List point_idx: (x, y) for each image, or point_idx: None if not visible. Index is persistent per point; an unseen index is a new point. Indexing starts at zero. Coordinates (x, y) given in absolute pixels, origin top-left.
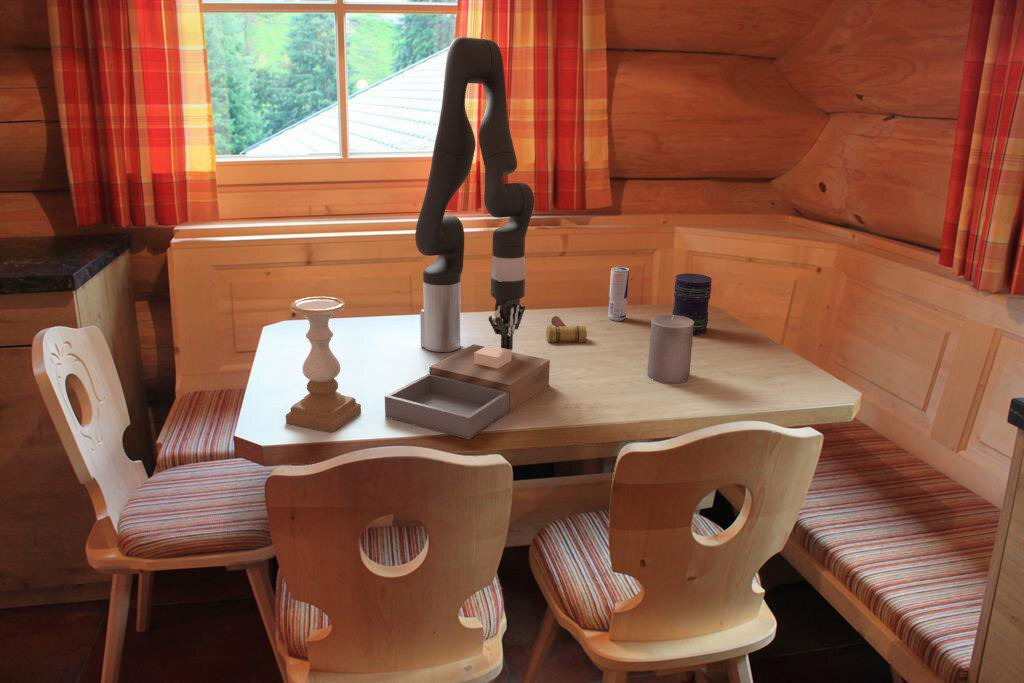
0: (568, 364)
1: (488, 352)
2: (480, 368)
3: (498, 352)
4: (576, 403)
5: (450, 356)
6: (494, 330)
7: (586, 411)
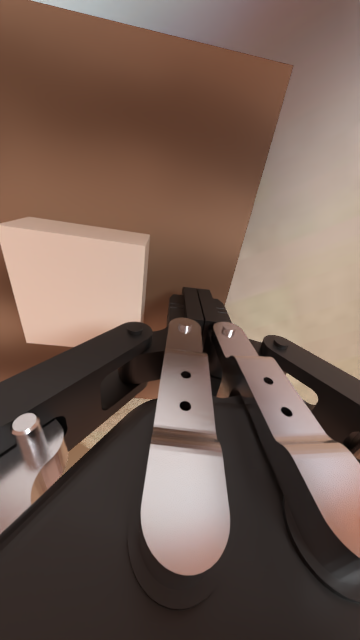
0: (325, 352)
1: (50, 289)
2: (1, 266)
3: (81, 323)
4: (130, 408)
5: (19, 5)
6: (95, 340)
7: (108, 424)
